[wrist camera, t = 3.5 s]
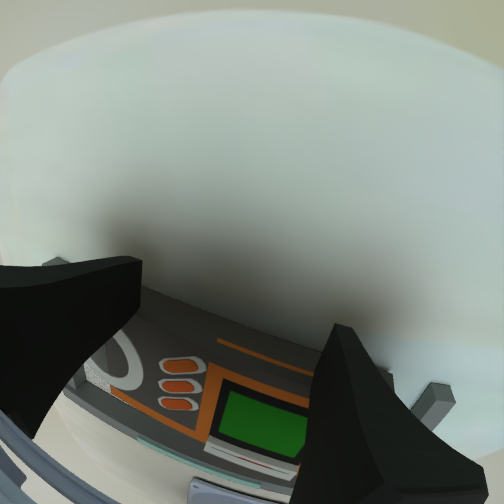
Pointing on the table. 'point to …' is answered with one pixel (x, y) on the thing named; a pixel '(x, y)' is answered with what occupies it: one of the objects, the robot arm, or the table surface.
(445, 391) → the dock
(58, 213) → the table surface
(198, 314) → the electronic device
